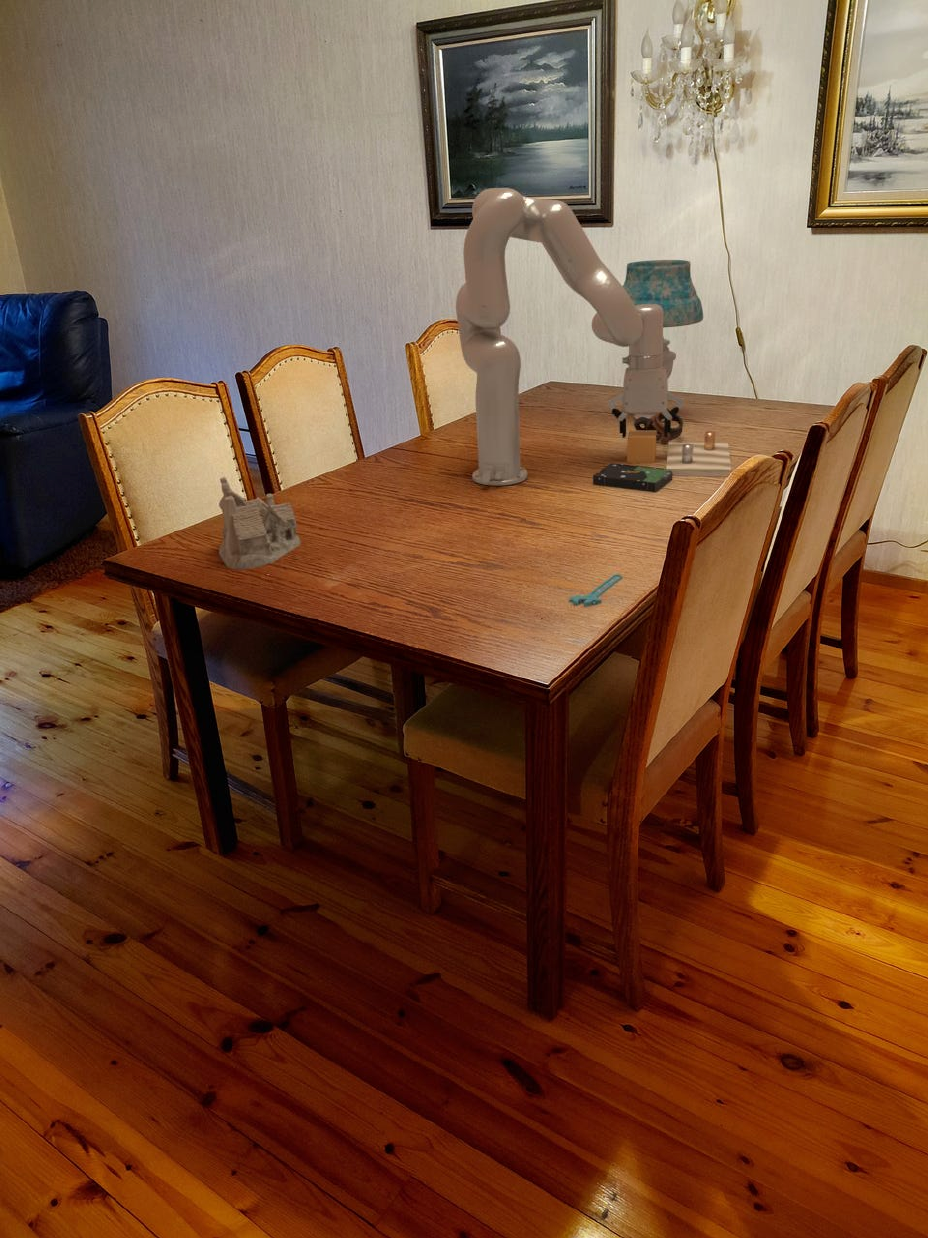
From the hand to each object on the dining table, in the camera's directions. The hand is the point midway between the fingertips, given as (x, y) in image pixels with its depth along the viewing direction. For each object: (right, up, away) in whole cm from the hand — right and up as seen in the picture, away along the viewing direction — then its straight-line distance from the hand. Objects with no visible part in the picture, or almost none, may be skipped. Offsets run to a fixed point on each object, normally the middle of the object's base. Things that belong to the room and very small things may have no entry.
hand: (645, 435), depth 215 cm
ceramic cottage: (-81, -30, -40) cm, 95 cm away
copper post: (+15, -3, +1) cm, 16 cm away
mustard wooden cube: (0, -5, +2) cm, 5 cm away
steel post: (+8, -7, -7) cm, 13 cm away
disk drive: (-5, -13, -13) cm, 19 cm away
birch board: (+12, -6, -2) cm, 14 cm away
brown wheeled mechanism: (+6, +2, +17) cm, 18 cm away
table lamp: (+9, +12, +36) cm, 39 cm away
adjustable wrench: (-20, -39, -64) cm, 78 cm away
